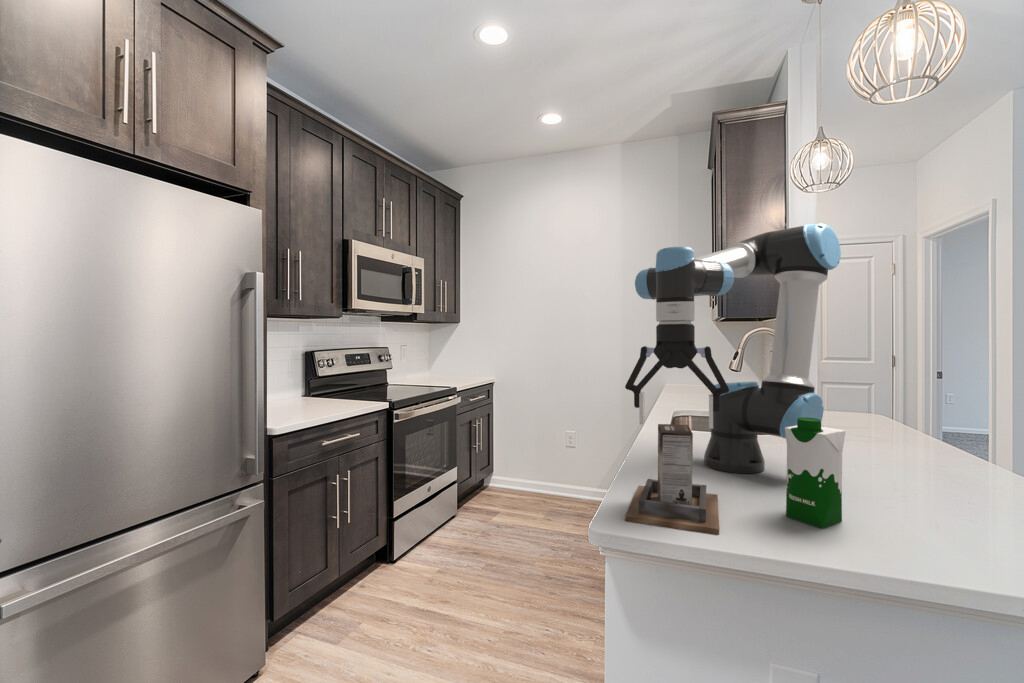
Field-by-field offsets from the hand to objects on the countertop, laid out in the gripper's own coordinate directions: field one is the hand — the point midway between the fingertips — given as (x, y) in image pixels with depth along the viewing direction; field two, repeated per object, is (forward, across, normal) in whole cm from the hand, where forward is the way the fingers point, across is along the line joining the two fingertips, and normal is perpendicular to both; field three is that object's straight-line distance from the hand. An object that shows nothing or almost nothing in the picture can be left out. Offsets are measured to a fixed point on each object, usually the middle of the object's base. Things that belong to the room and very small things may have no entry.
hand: (675, 425), depth 101 cm
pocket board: (+18, 0, 0) cm, 18 cm away
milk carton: (+18, +26, +4) cm, 32 cm away
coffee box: (+17, 0, 0) cm, 17 cm away
